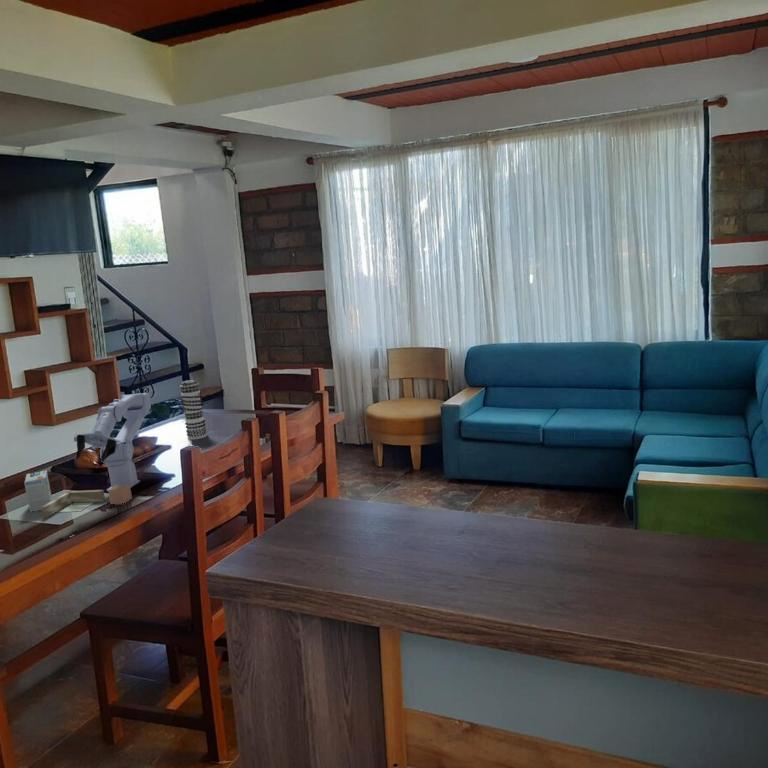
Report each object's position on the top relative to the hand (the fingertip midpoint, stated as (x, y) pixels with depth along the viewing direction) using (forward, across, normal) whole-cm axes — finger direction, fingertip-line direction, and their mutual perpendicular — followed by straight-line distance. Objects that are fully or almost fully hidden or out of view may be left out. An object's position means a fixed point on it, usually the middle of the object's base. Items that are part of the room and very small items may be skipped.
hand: (90, 457), depth 240 cm
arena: (+5, -3, +19) cm, 19 cm away
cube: (+3, +11, +15) cm, 19 cm away
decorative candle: (-71, +25, +45) cm, 88 cm away
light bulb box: (0, -15, +26) cm, 30 cm away
